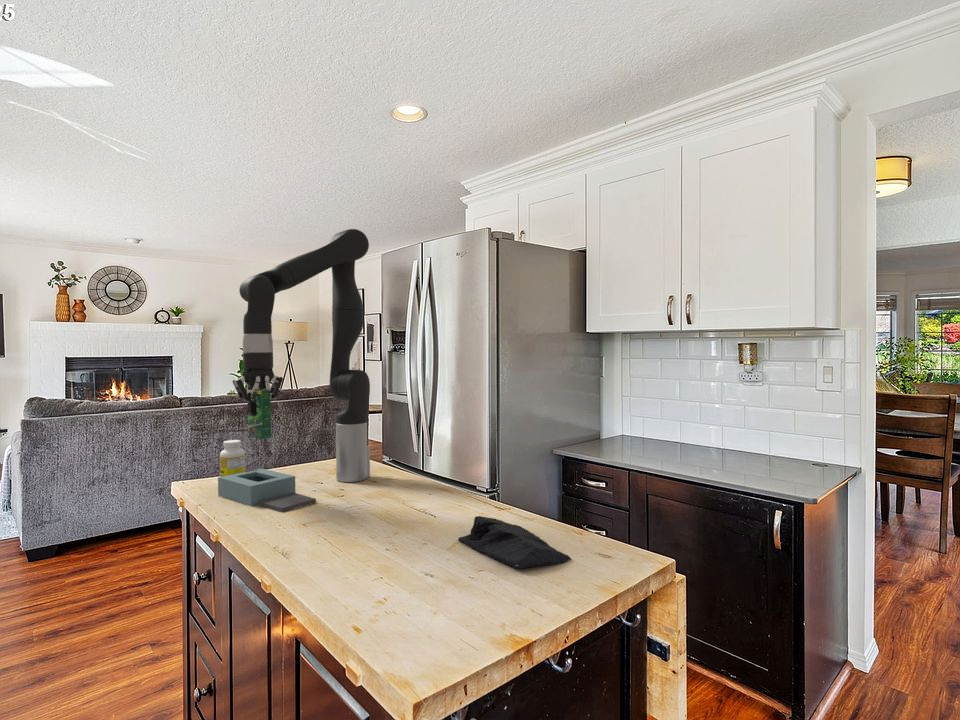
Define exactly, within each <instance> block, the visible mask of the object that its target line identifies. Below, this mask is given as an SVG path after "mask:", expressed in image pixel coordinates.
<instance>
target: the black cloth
mask: <svg viewBox="0 0 960 720" xmlns="http://www.w3.org/2000/svg"><path fill="white" fill-rule="evenodd" d="M470 529H471V530H470V533H469V534H467V535H464V536H460V537H458V541H459V542H460V543H461V542H462V544H463V543H464V544H466V545H467V546H468V547H469V548H471V549H472V550H475V551H477V552H479V553H480V554H485V555H487V556H489V557H490V558H492V559H494V560H495V561H498V562H500V563H502V564H504V565H507V566H510V567H511V568H515V569H520V570H521V569H526V568H531V567H538V566H547V565H548V566H549V565H556V564H564V563H566V562H568V561H570V560H572V558H571V557H570V556H569V555H568V554H565V553H563V552H562V551H559V550H557V549H556V548H554V547H552V546H551V545H549V544H548V543H547V542H546V541H545V540H543V539H542V538H540V537H539V536H537V535H536V534H534V533H533V532H531V531H530V530H528V529H526V528H524V527H522V526H520V525H518V524H511V523H508V522H505V521H503V520H500V519H497V518H493V517H487V516H482V515H481V516H480V515H479V516H474V519H473V525H472V527H471V528H470Z"/></svg>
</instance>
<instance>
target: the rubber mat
mask: <svg viewBox="0 0 960 720" xmlns="http://www.w3.org/2000/svg"><path fill="white" fill-rule="evenodd" d="M314 502H316V503H317V498H315V497H310V496H306V495H303V494H301V493H296V492H295V493H289V494H285V495H281V496H277V497H273V498H269V499H266V500H262V501H258V504H257V505H258V506H259V507H260V506H261V507H263V508H266V509H270V510H272V511H273V510H274V511H276V512H279V513H284V512H287V510H288V511H291V510H294V508H295V509H298V508H301V507H300V506H302V507H305V506H304V505H306V506H308V505H307V504H309V505H311V504H310V503H313V504H315V503H314ZM297 507H298V508H297ZM290 509H291V510H290Z"/></svg>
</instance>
